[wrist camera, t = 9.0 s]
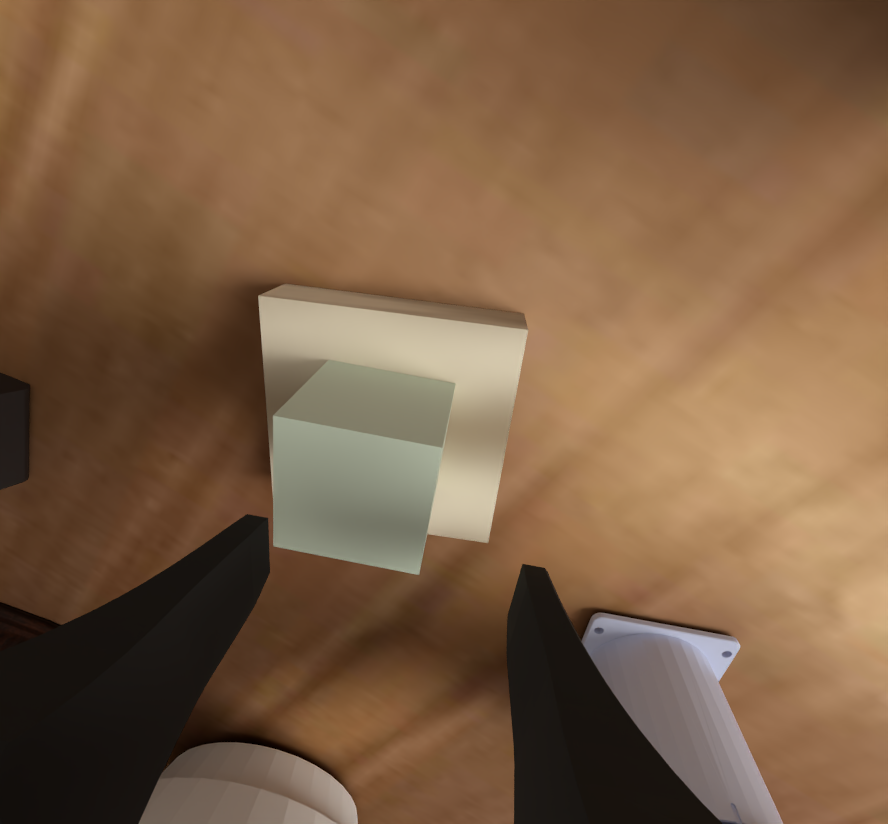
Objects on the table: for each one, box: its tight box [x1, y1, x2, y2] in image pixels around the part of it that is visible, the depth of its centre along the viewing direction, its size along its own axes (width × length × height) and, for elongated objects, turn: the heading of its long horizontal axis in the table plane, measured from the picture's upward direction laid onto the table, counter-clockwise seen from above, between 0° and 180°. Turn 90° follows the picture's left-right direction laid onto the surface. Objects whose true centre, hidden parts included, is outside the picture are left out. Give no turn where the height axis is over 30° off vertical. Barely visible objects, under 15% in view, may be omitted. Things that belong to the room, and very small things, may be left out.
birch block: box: [258, 284, 528, 543], centre depth 20 cm, size 10×10×3 cm
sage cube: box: [273, 360, 456, 575], centre depth 17 cm, size 5×5×5 cm
